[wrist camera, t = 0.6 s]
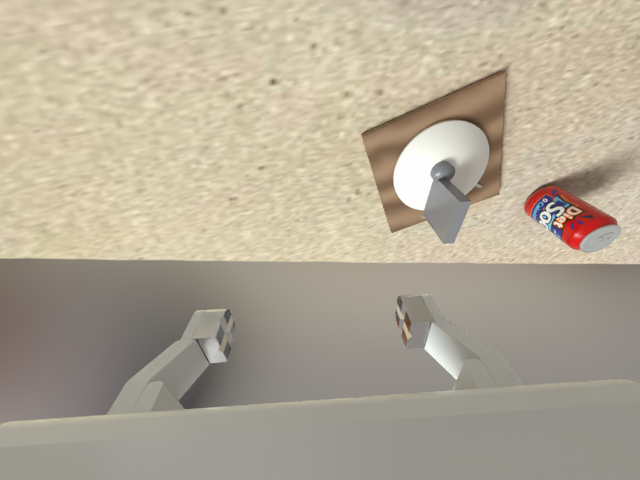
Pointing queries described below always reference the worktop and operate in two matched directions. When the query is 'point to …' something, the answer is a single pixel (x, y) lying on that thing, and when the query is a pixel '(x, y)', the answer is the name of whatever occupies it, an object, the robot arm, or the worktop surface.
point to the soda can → (572, 219)
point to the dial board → (466, 104)
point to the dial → (442, 173)
